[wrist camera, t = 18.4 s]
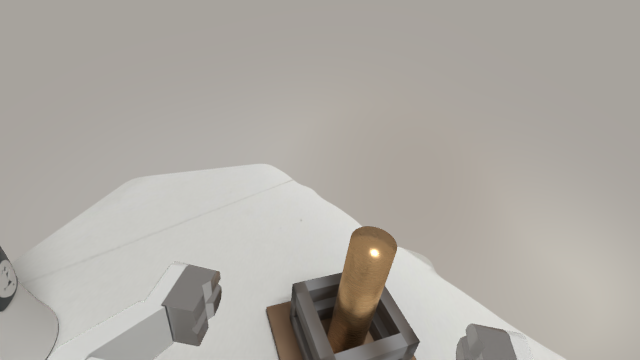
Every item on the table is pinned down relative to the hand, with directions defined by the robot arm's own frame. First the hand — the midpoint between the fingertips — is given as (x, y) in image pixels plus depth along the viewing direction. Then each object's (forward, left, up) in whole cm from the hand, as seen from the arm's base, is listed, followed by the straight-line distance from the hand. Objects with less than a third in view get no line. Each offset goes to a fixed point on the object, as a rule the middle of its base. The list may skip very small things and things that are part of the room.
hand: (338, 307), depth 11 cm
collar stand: (+11, +14, -32) cm, 37 cm away
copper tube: (+11, +14, -31) cm, 36 cm away
